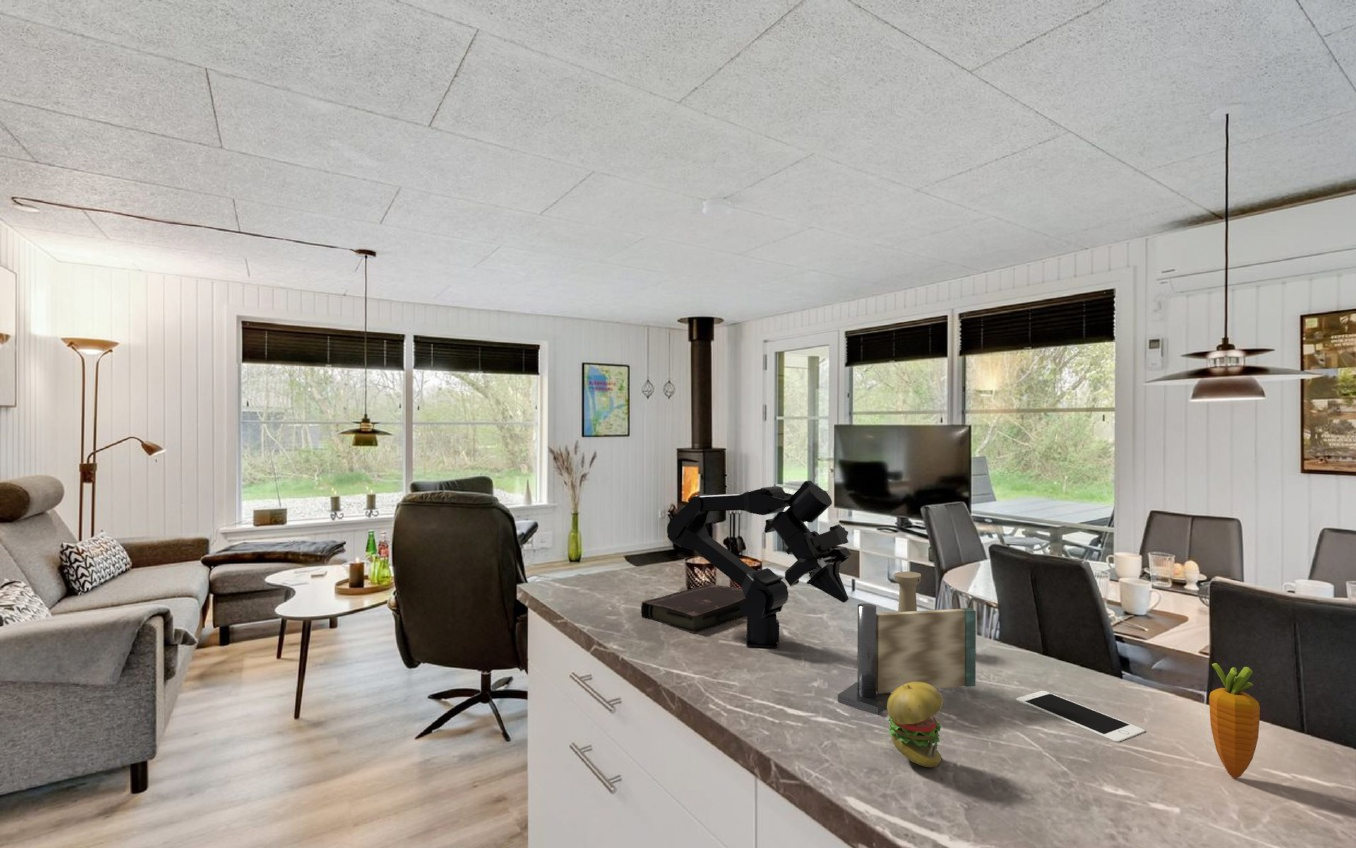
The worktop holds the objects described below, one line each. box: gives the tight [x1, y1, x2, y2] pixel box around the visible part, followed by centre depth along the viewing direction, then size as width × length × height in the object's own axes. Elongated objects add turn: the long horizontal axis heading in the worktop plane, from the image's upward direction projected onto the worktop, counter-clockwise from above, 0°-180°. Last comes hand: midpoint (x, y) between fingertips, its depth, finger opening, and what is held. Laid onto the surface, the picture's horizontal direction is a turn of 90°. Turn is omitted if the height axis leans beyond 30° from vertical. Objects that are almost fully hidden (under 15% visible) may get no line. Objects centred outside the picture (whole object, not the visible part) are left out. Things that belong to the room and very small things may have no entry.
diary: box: [640, 583, 746, 634], centre depth 152 cm, size 19×25×5 cm
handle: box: [893, 571, 922, 612], centre depth 131 cm, size 5×6×15 cm
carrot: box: [1208, 662, 1261, 780], centre depth 81 cm, size 5×5×15 cm
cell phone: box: [1015, 690, 1146, 743], centre depth 99 cm, size 8×16×1 cm, turn 27°
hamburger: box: [886, 673, 944, 768], centre depth 85 cm, size 8×7×12 cm
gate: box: [876, 607, 977, 693], centre depth 106 cm, size 18×2×13 cm, turn 101°
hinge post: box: [837, 602, 892, 715], centre depth 104 cm, size 7×7×16 cm
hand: (846, 601), depth 119 cm, fingers closed
